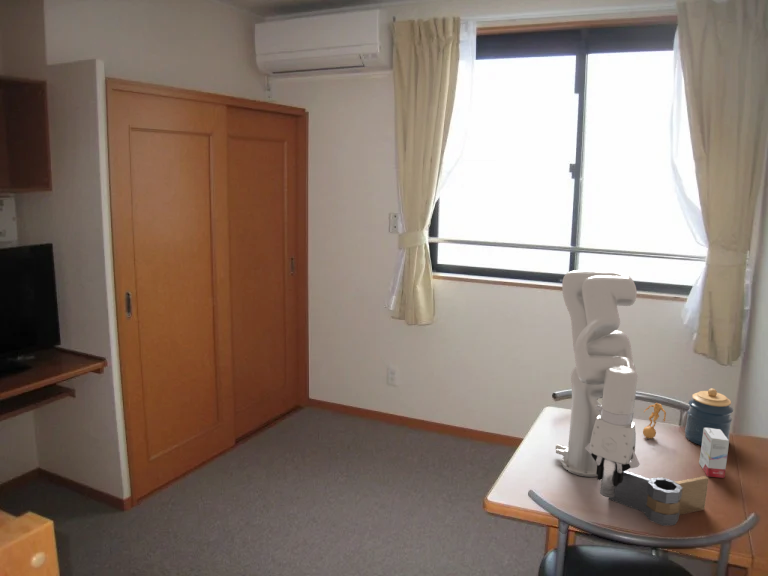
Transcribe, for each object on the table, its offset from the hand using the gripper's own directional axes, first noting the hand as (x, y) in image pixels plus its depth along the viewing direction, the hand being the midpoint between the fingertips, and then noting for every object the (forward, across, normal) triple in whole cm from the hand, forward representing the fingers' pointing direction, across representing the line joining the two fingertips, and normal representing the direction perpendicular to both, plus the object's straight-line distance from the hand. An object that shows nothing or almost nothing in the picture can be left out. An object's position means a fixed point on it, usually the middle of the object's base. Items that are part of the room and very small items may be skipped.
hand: (608, 480), depth 162 cm
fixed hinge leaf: (+9, +7, +7) cm, 13 cm away
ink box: (+10, +15, +43) cm, 46 cm away
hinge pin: (+4, 0, 0) cm, 4 cm away
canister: (+11, +8, +65) cm, 66 cm away
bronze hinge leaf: (+9, +14, +11) cm, 20 cm away
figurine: (+11, -6, +54) cm, 55 cm away
